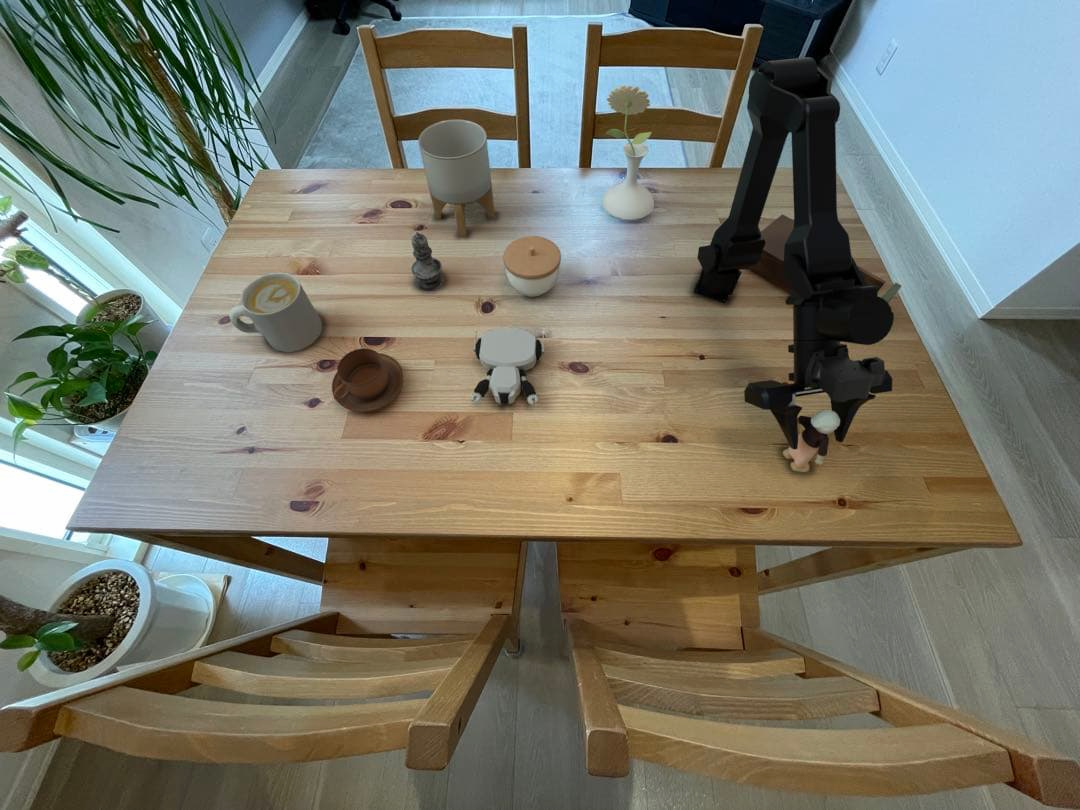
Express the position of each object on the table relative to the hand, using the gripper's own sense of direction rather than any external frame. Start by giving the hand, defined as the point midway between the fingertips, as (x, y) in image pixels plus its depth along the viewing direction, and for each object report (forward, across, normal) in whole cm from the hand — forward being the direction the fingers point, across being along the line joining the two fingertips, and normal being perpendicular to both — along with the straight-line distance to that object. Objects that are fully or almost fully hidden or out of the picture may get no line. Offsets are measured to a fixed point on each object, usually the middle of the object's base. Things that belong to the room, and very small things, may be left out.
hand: (816, 445), depth 74 cm
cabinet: (-25, +16, +34) cm, 45 cm away
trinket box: (-27, -35, +37) cm, 58 cm away
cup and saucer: (-14, -66, +23) cm, 71 cm away
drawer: (-18, +23, +26) cm, 39 cm away
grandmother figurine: (+4, 0, +6) cm, 7 cm away
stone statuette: (-31, -55, +40) cm, 75 cm away
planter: (-44, -46, +53) cm, 83 cm away
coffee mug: (-25, -82, +34) cm, 92 cm away
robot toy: (-13, -42, +22) cm, 50 cm away
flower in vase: (-42, -11, +51) cm, 67 cm away
